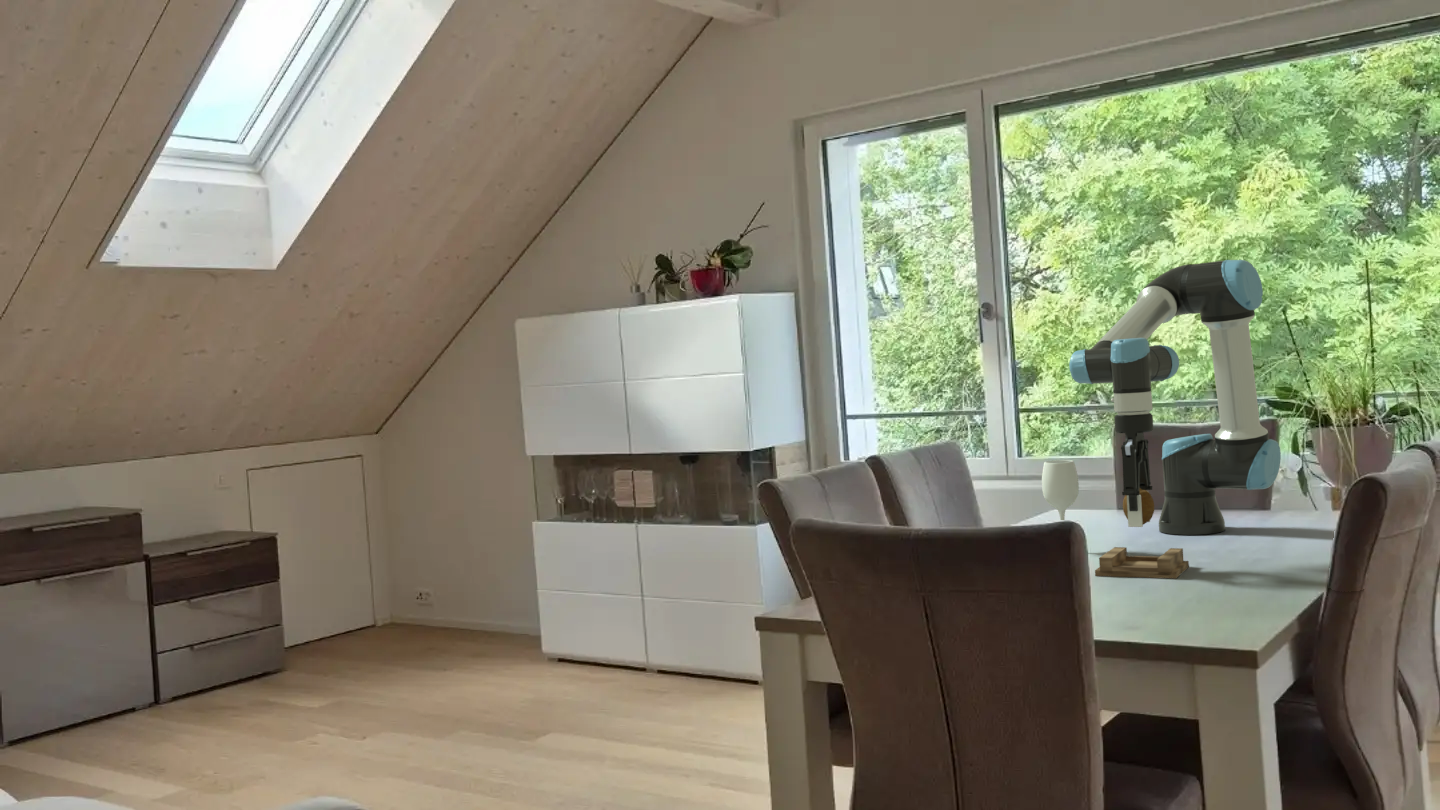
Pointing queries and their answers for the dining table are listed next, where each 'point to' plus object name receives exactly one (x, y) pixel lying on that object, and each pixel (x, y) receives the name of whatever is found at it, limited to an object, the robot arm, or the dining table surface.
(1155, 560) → the cradle
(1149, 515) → the fruit
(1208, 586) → the dining table surface
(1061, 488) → the wineglass
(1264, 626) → the dining table surface
